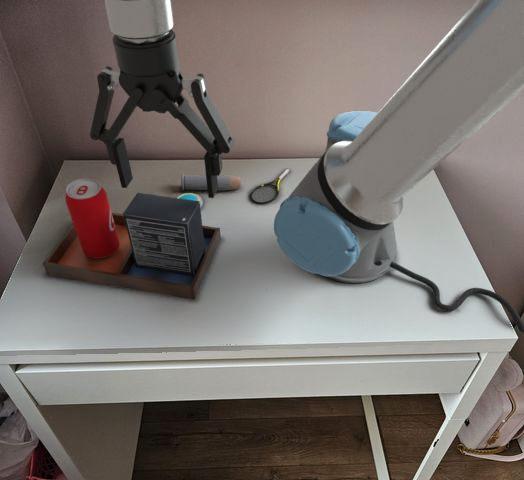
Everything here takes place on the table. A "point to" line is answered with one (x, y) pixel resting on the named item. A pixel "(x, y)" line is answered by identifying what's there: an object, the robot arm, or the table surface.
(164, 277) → the sorting tray
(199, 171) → the table surface
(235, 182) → the grey two-tone cylinder
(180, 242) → the small box
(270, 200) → the tennis racket
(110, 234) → the beverage can
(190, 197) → the button
